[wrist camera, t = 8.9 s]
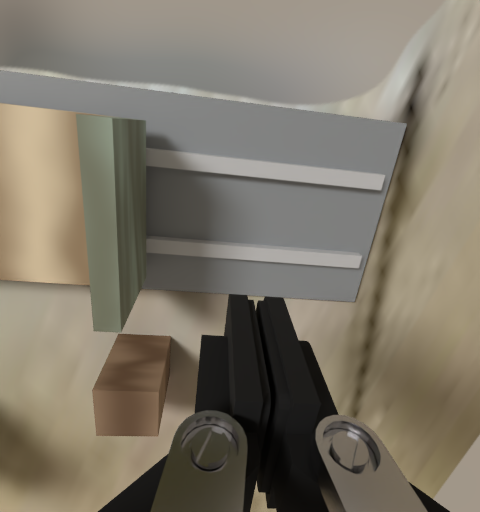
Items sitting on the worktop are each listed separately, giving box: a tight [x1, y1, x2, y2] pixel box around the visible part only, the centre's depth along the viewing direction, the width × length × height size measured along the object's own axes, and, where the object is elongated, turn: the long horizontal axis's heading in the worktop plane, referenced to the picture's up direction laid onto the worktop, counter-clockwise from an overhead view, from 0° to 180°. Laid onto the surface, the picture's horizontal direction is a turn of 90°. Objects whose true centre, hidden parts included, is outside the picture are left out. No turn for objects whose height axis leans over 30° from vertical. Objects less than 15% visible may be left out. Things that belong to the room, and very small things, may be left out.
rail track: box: [0, 70, 407, 302], centre depth 24 cm, size 42×16×1 cm, turn 83°
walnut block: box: [92, 334, 171, 436], centre depth 28 cm, size 5×5×7 cm
